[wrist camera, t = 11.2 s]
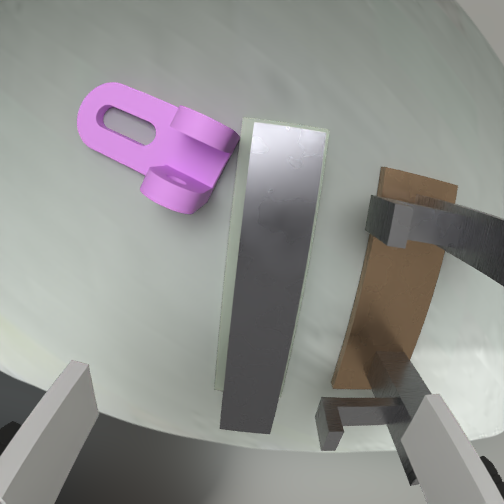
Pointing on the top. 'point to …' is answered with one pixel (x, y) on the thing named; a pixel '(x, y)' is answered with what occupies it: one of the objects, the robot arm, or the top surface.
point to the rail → (270, 270)
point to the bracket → (161, 145)
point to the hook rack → (402, 300)
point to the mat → (235, 240)
